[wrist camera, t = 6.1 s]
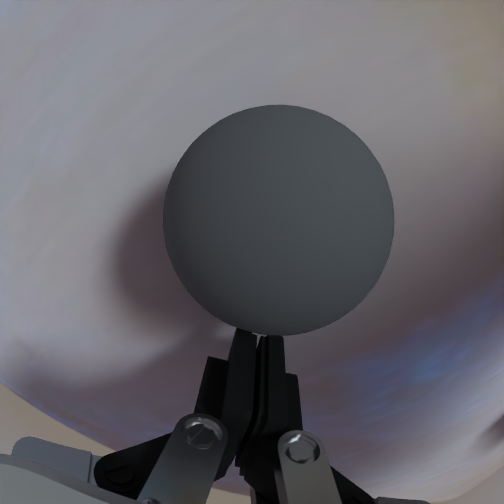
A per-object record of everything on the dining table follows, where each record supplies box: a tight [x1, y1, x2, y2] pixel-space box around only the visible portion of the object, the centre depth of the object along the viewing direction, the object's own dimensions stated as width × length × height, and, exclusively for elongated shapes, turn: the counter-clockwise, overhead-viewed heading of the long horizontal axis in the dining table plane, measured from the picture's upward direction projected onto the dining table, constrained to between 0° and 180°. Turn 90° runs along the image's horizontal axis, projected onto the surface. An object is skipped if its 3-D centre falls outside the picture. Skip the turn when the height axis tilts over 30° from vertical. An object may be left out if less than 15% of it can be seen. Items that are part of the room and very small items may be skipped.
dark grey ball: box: [163, 105, 394, 336], centre depth 8 cm, size 6×6×6 cm
